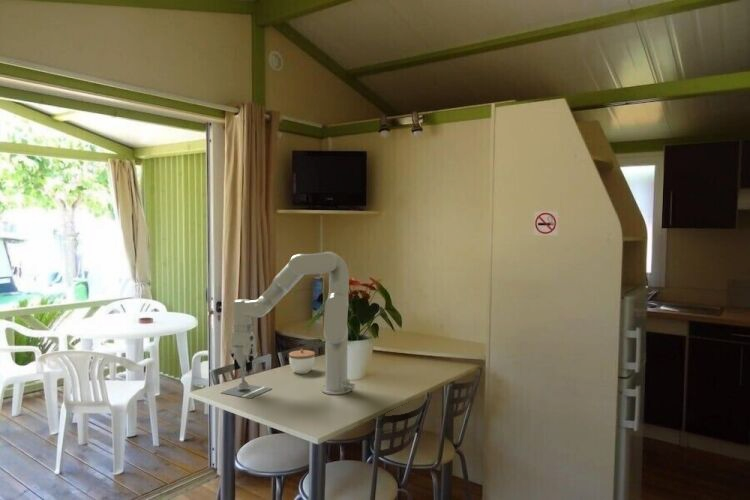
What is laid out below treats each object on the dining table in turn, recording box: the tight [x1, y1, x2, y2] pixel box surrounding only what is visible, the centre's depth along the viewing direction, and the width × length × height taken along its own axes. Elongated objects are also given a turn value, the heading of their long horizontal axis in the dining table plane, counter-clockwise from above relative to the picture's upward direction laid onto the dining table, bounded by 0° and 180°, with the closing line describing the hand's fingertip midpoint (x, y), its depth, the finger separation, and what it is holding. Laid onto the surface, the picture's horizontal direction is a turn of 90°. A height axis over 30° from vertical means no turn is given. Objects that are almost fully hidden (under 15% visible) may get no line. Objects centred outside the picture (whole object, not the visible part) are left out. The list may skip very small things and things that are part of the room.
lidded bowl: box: [288, 348, 316, 375], centre depth 246 cm, size 13×13×11 cm
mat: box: [220, 384, 273, 400], centre depth 215 cm, size 16×14×1 cm
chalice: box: [234, 346, 250, 389], centre depth 216 cm, size 7×7×18 cm
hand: (243, 369), depth 216 cm, fingers closed on chalice, 5 cm apart
